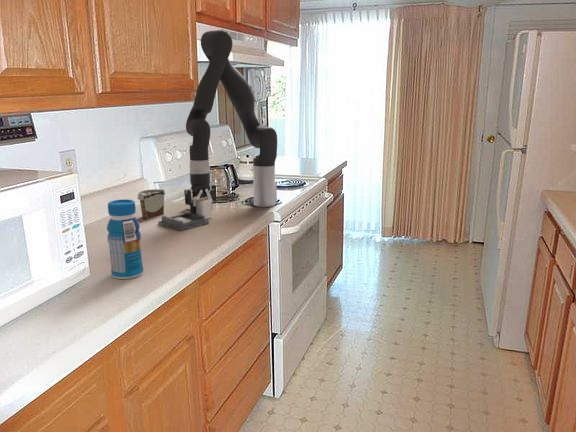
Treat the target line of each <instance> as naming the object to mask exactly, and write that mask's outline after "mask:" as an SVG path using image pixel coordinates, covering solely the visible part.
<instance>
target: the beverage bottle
mask: <svg viewBox="0 0 576 432" xmlns="http://www.w3.org/2000/svg"><path fill="white" fill-rule="evenodd" d="M107 211H108V215H109V216H110V217H111V218H109V220H108V223H107V227H106V230H107V232H108V234H107V243H108V246H109V247H108V248H109V256H110V257H109V258H110V267H111V268H110V269H111V270H110V273H111V276H112V277H113V278H114V279H117V280H118V279H119V280H130V279H135V278H137V277H140V276H141V275H142V274H143V273H144V267H143V266H144V265H143V258H142V245H141V241H142V234H141V232H140V228H141V226H140V222H139V220H138V219H137V217H136V216H135V214H136V212H137V211H136V201H135V200H133V199H128V198H127V199H123V198H122V199H116V200H111V201H109V202H108V203H107Z"/></svg>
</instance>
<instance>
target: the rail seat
mask: <svg viewBox="0 0 576 432" xmlns="http://www.w3.org/2000/svg"><path fill="white" fill-rule="evenodd" d="M209 222H210V221H209V220H208V219H205V216H203V215H200V214H196V213H192V212H190V211H189V210H188V211H187V210H184V211H183V213H182V214H177V215H173V216H172V215H171V216H166V215H162V216H161V220H160V221H158V222H157V223H158V225H159V226H163V227H165V228H169V229H172V230H175V231H179V232H181V231H185V230H188V229H189V230H190V229H193V228H197V227H201V226H204V225H208V224H209Z"/></svg>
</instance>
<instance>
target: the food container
mask: <svg viewBox="0 0 576 432" xmlns="http://www.w3.org/2000/svg"><path fill="white" fill-rule="evenodd" d="M165 195H166V192H165V190H164V189H161V188H160V189H157V188H156V189H154V188H153V189H146V190H141V191H139V192H138V194H137V199H138V201H139V203H140V210H141V216H142V219H143V220H145V221H149V220H152V219H155V218H158V216H159V217H162V216H165ZM161 215H162V216H161Z"/></svg>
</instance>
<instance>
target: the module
mask: <svg viewBox="0 0 576 432" xmlns="http://www.w3.org/2000/svg"><path fill="white" fill-rule="evenodd" d="M195 206H196V214H200V215H203V216H205V220H209V219H211V218H213V202H212V200H209V199H205V198H204V197H202V198H199V200H198V201H197V203H196V205H195Z"/></svg>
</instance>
